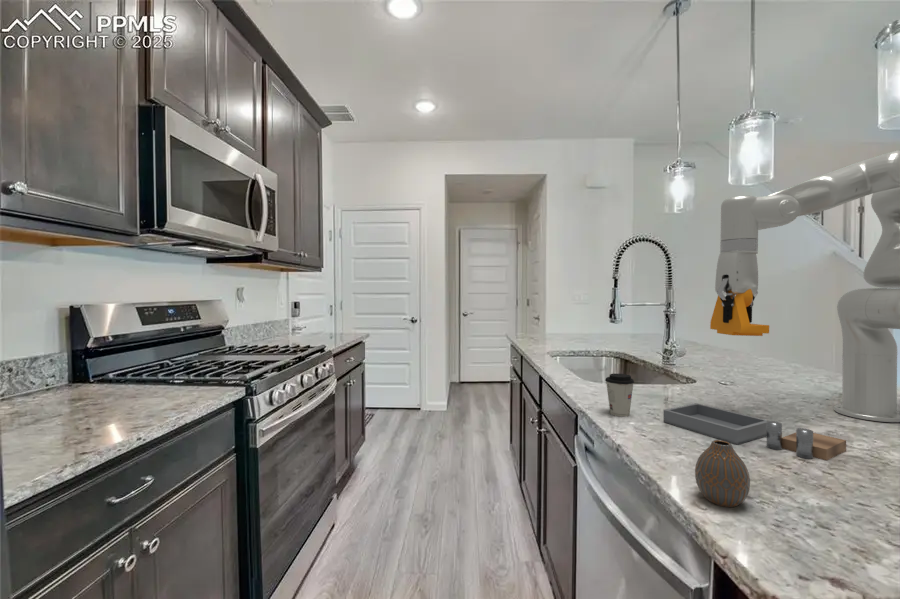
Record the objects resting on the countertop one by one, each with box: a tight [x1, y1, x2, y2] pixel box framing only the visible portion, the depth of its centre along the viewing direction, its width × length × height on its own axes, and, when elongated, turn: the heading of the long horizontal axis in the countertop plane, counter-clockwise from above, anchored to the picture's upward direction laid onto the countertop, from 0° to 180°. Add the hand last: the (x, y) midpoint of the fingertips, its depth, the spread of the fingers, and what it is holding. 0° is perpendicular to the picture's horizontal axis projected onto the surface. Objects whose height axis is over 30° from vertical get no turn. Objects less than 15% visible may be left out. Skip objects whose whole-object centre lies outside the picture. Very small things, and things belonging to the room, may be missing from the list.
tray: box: [663, 402, 770, 446], centre depth 94 cm, size 13×17×3 cm
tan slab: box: [781, 432, 847, 461], centre depth 81 cm, size 9×7×2 cm
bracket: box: [709, 289, 770, 337], centre depth 100 cm, size 11×7×12 cm, turn 1°
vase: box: [694, 439, 751, 508], centre depth 62 cm, size 7×7×9 cm
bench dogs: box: [766, 420, 814, 460], centre depth 80 cm, size 2×7×5 cm, turn 26°
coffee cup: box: [604, 373, 635, 418], centre depth 105 cm, size 7×7×10 cm
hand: (737, 321), depth 100 cm, fingers closed on bracket, 4 cm apart
